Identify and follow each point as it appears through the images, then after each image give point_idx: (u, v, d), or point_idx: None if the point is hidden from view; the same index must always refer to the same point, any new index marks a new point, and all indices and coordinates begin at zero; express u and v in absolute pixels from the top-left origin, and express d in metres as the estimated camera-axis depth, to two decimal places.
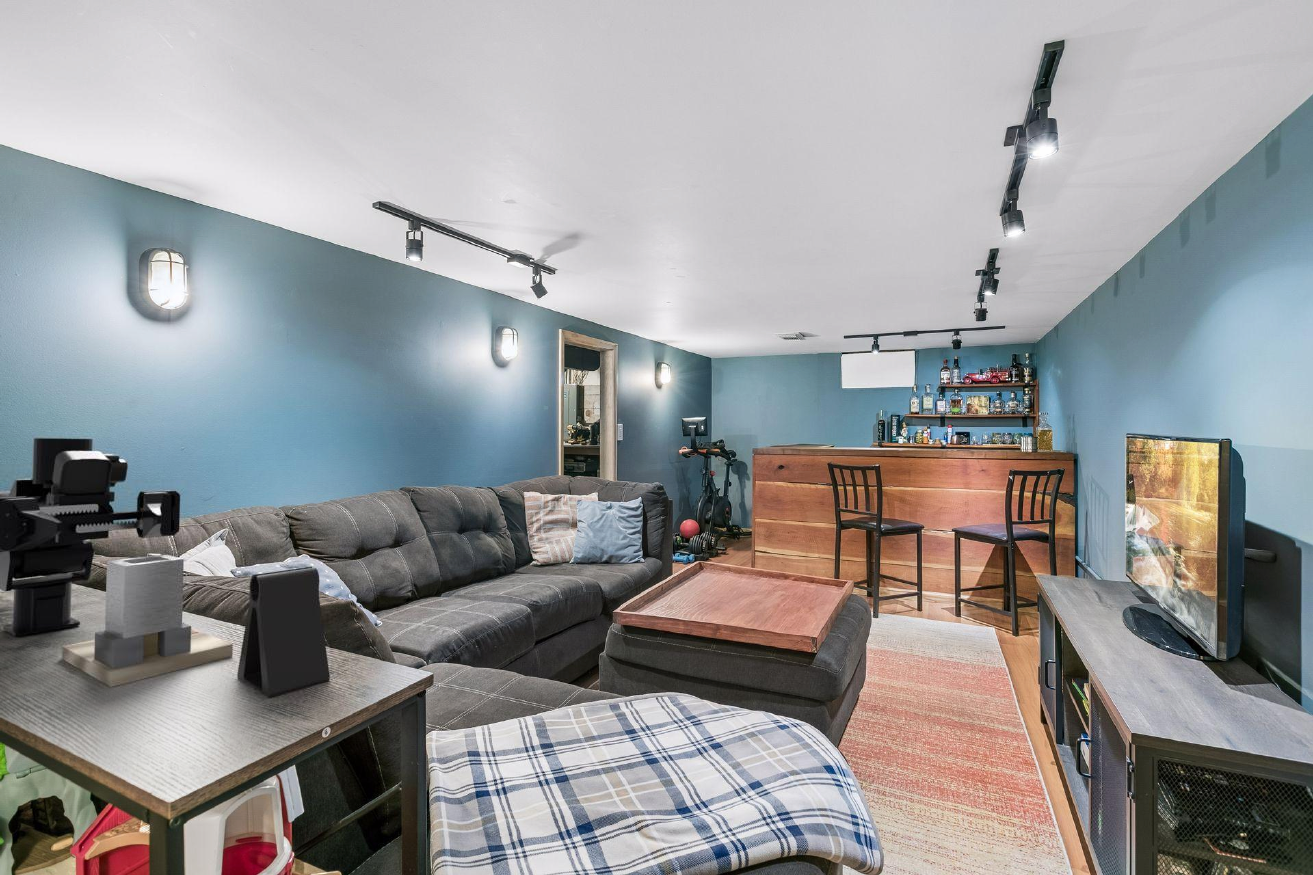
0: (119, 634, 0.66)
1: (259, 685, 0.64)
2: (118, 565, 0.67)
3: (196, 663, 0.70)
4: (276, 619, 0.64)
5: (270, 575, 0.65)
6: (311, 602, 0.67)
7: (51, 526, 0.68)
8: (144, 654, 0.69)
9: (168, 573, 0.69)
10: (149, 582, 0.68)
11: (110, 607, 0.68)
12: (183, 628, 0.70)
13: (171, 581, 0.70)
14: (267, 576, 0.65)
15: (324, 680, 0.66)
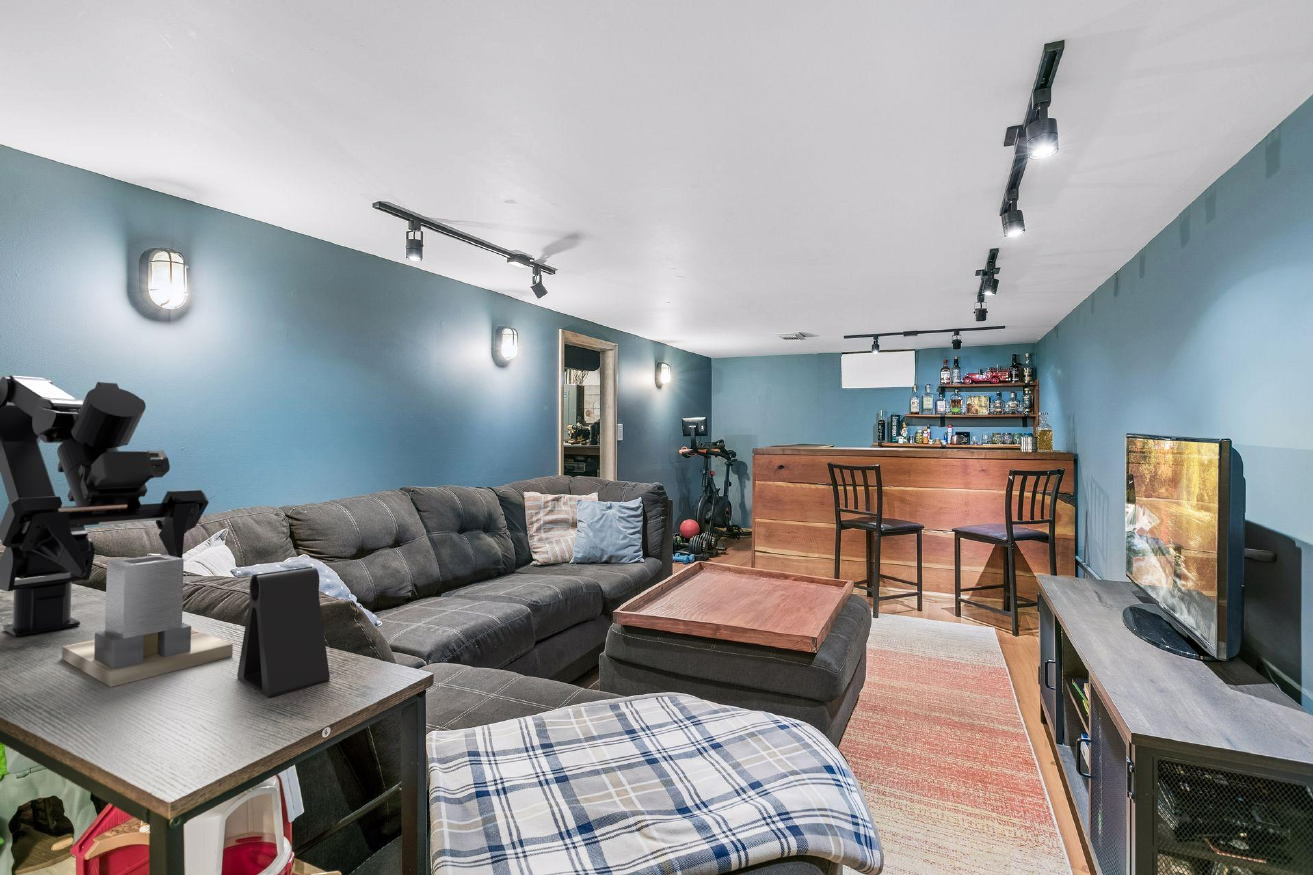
0: (119, 634, 0.66)
1: (259, 685, 0.64)
2: (118, 565, 0.67)
3: (196, 663, 0.70)
4: (276, 619, 0.64)
5: (270, 575, 0.65)
6: (311, 602, 0.67)
7: (76, 568, 0.68)
8: (144, 654, 0.69)
9: (168, 573, 0.69)
10: (149, 582, 0.68)
11: (110, 607, 0.68)
12: (183, 628, 0.70)
13: (171, 581, 0.70)
14: (267, 576, 0.65)
15: (324, 680, 0.66)
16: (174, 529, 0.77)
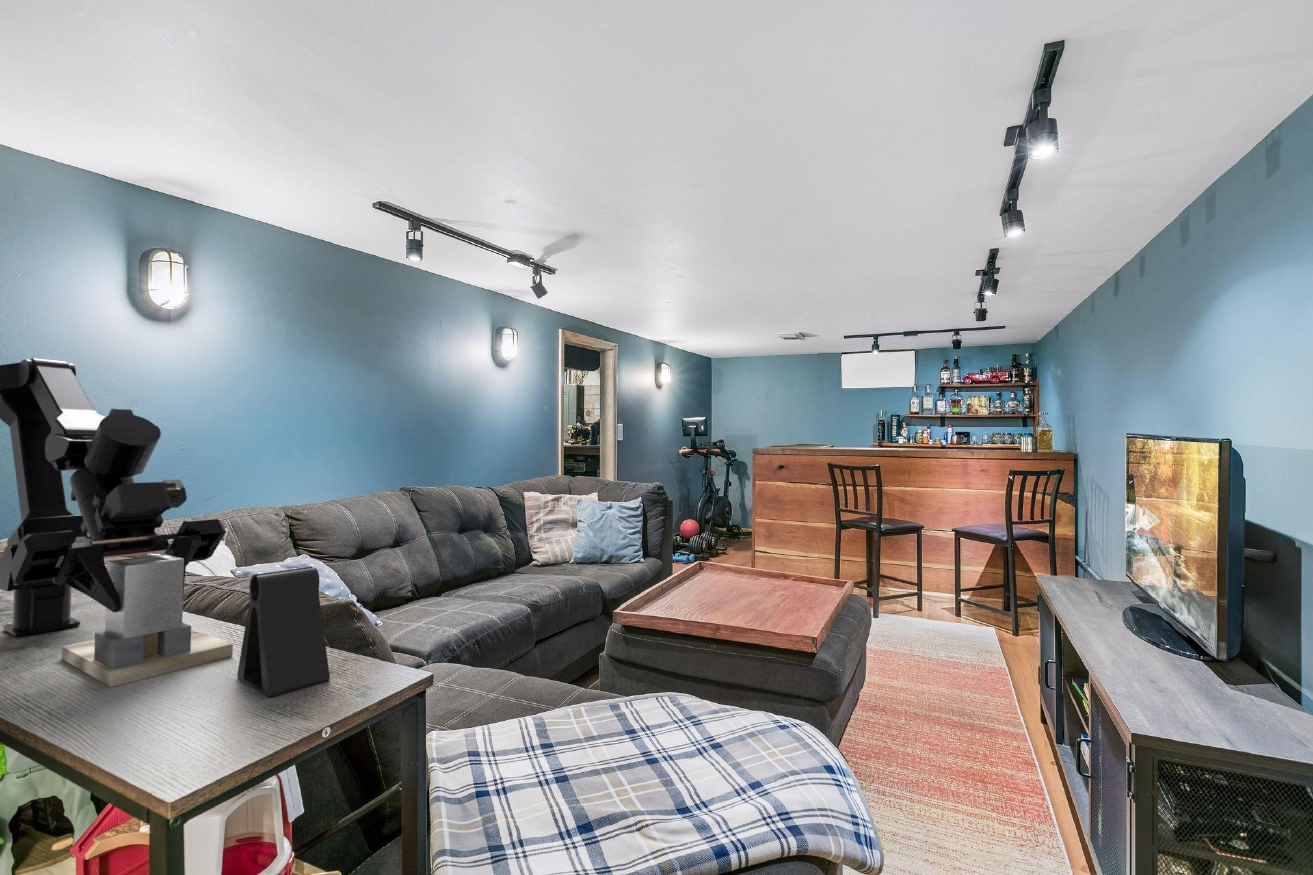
0: (119, 634, 0.66)
1: (259, 685, 0.64)
2: (118, 565, 0.67)
3: (196, 663, 0.70)
4: (276, 619, 0.64)
5: (270, 575, 0.65)
6: (311, 602, 0.67)
7: (110, 604, 0.66)
8: (144, 654, 0.69)
9: (168, 573, 0.69)
10: (150, 582, 0.68)
11: None
12: (183, 628, 0.70)
13: (171, 581, 0.70)
14: (267, 576, 0.65)
15: (324, 680, 0.66)
16: None
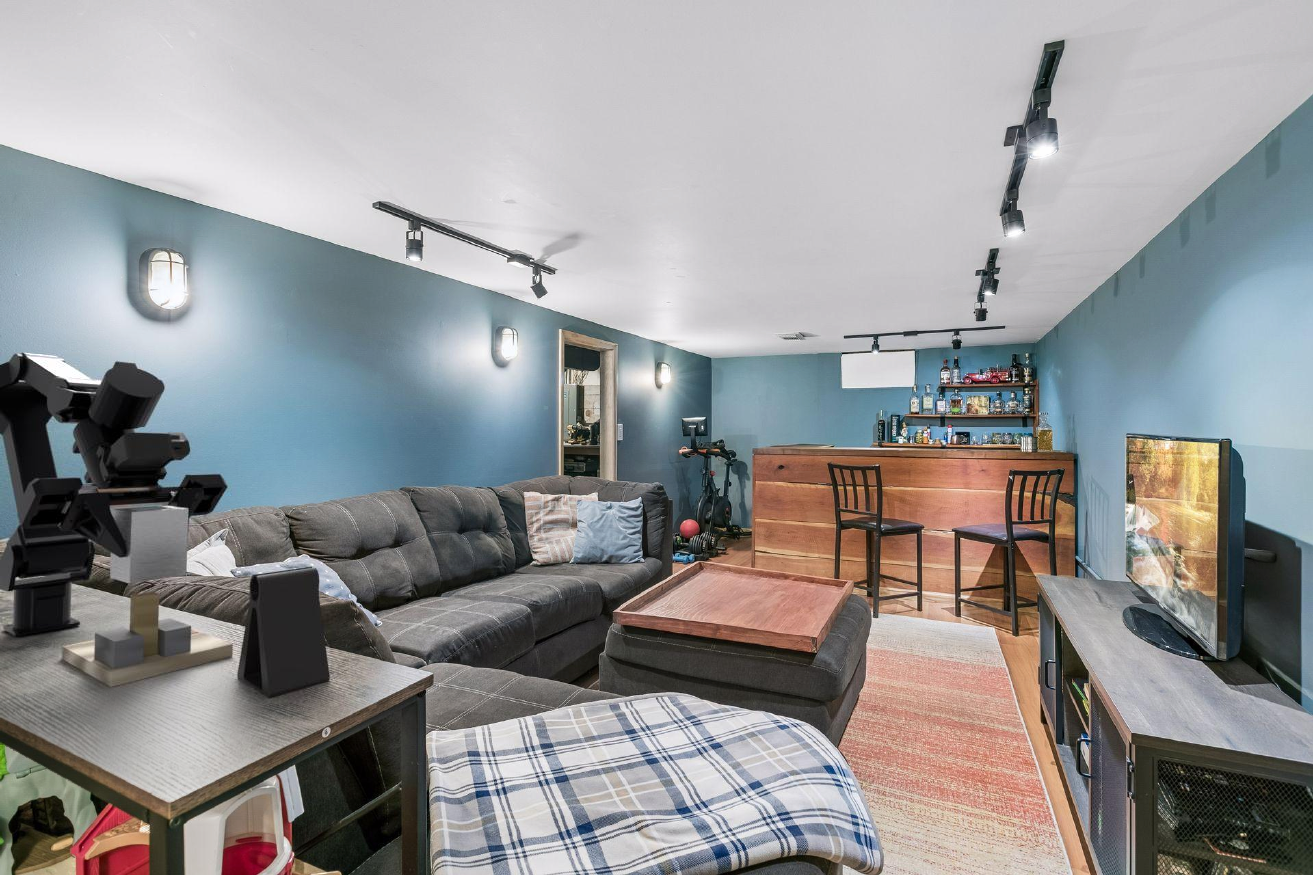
0: (125, 579, 0.68)
1: (259, 685, 0.64)
2: (124, 512, 0.68)
3: (196, 663, 0.70)
4: (276, 619, 0.64)
5: (270, 575, 0.65)
6: (311, 602, 0.67)
7: (116, 549, 0.68)
8: (144, 654, 0.69)
9: (173, 521, 0.71)
10: (155, 529, 0.69)
11: None
12: (183, 628, 0.70)
13: (176, 529, 0.71)
14: (267, 576, 0.65)
15: (324, 680, 0.66)
16: None
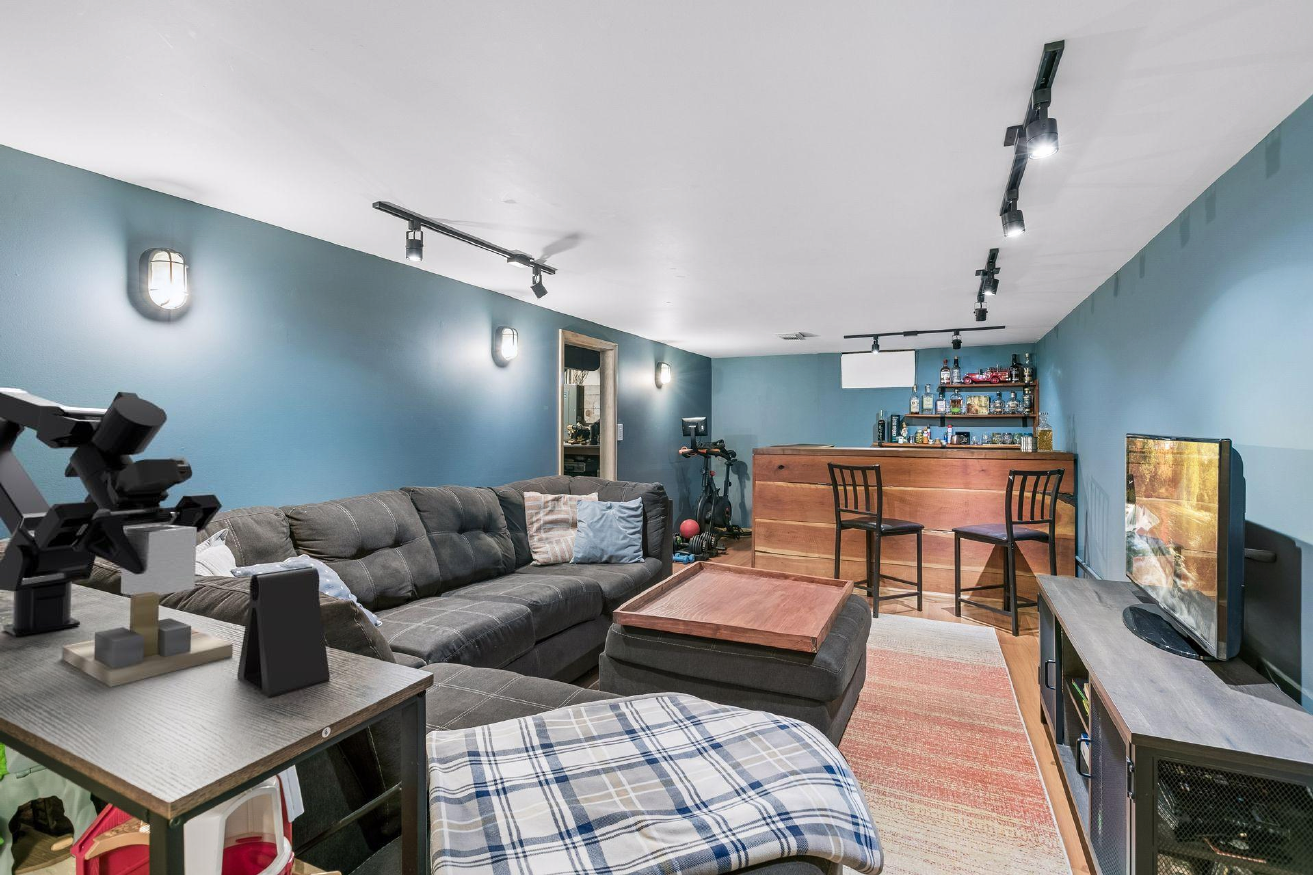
0: None
1: (259, 685, 0.64)
2: (139, 532, 0.75)
3: (196, 663, 0.70)
4: (276, 619, 0.64)
5: (270, 575, 0.65)
6: (311, 602, 0.67)
7: (133, 567, 0.74)
8: (144, 654, 0.69)
9: (184, 540, 0.78)
10: (169, 547, 0.76)
11: (128, 571, 0.75)
12: (183, 628, 0.70)
13: (186, 547, 0.78)
14: (267, 576, 0.65)
15: (324, 680, 0.66)
16: None
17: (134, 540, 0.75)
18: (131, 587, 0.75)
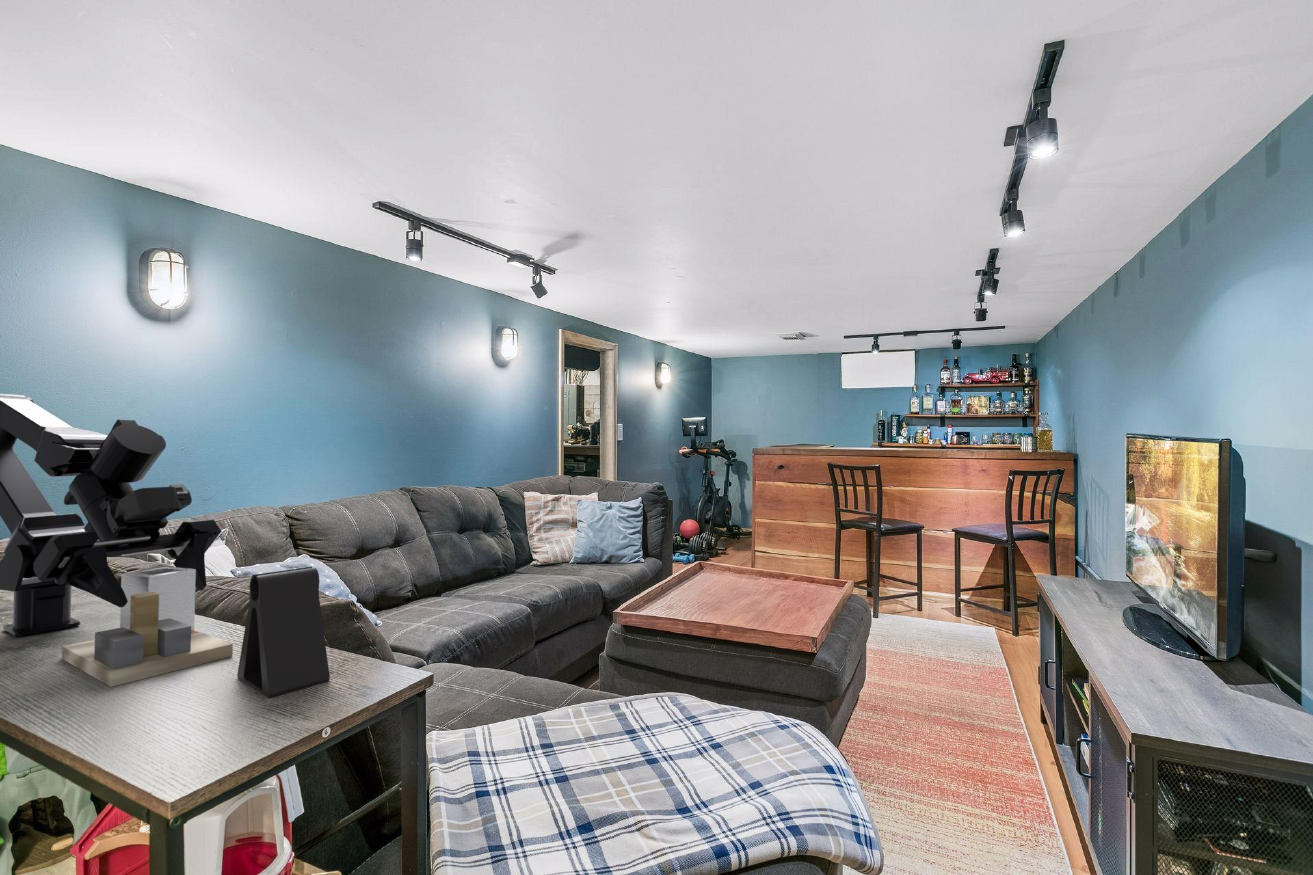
0: None
1: (259, 685, 0.64)
2: (139, 577, 0.74)
3: (196, 663, 0.70)
4: (276, 619, 0.64)
5: (270, 575, 0.65)
6: (311, 602, 0.67)
7: (117, 599, 0.72)
8: (144, 654, 0.69)
9: (183, 582, 0.77)
10: (168, 591, 0.76)
11: (127, 615, 0.75)
12: (183, 628, 0.70)
13: (185, 589, 0.78)
14: (267, 576, 0.65)
15: (324, 680, 0.66)
16: (195, 558, 0.82)
17: (133, 584, 0.75)
18: None
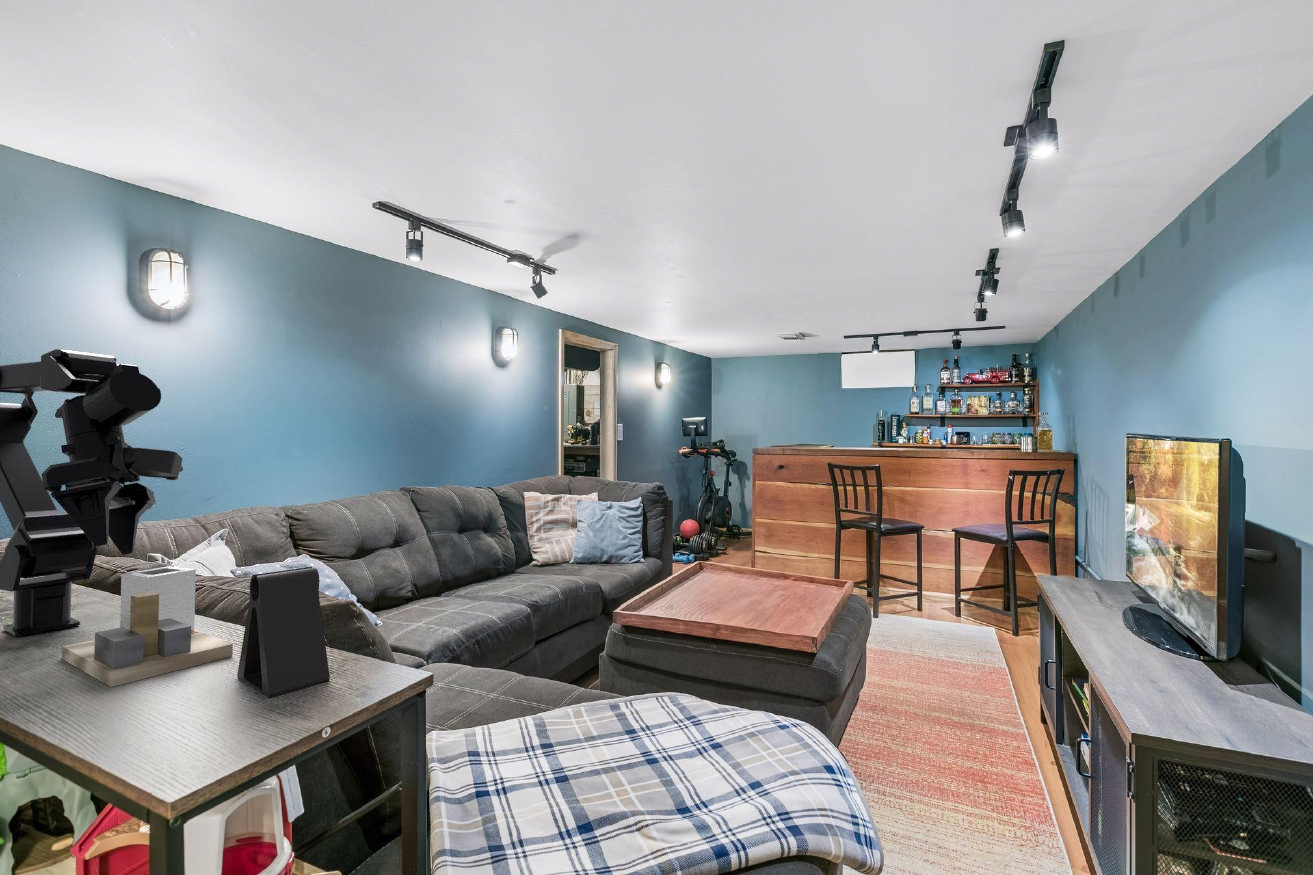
0: None
1: (259, 685, 0.64)
2: (139, 577, 0.74)
3: (196, 663, 0.70)
4: (276, 619, 0.64)
5: (270, 575, 0.65)
6: (311, 602, 0.67)
7: (99, 538, 0.74)
8: (144, 654, 0.69)
9: (183, 582, 0.77)
10: (168, 591, 0.76)
11: (127, 615, 0.75)
12: (183, 628, 0.70)
13: (185, 589, 0.78)
14: (267, 576, 0.65)
15: (324, 680, 0.66)
16: (135, 522, 0.84)
17: (133, 584, 0.75)
18: None
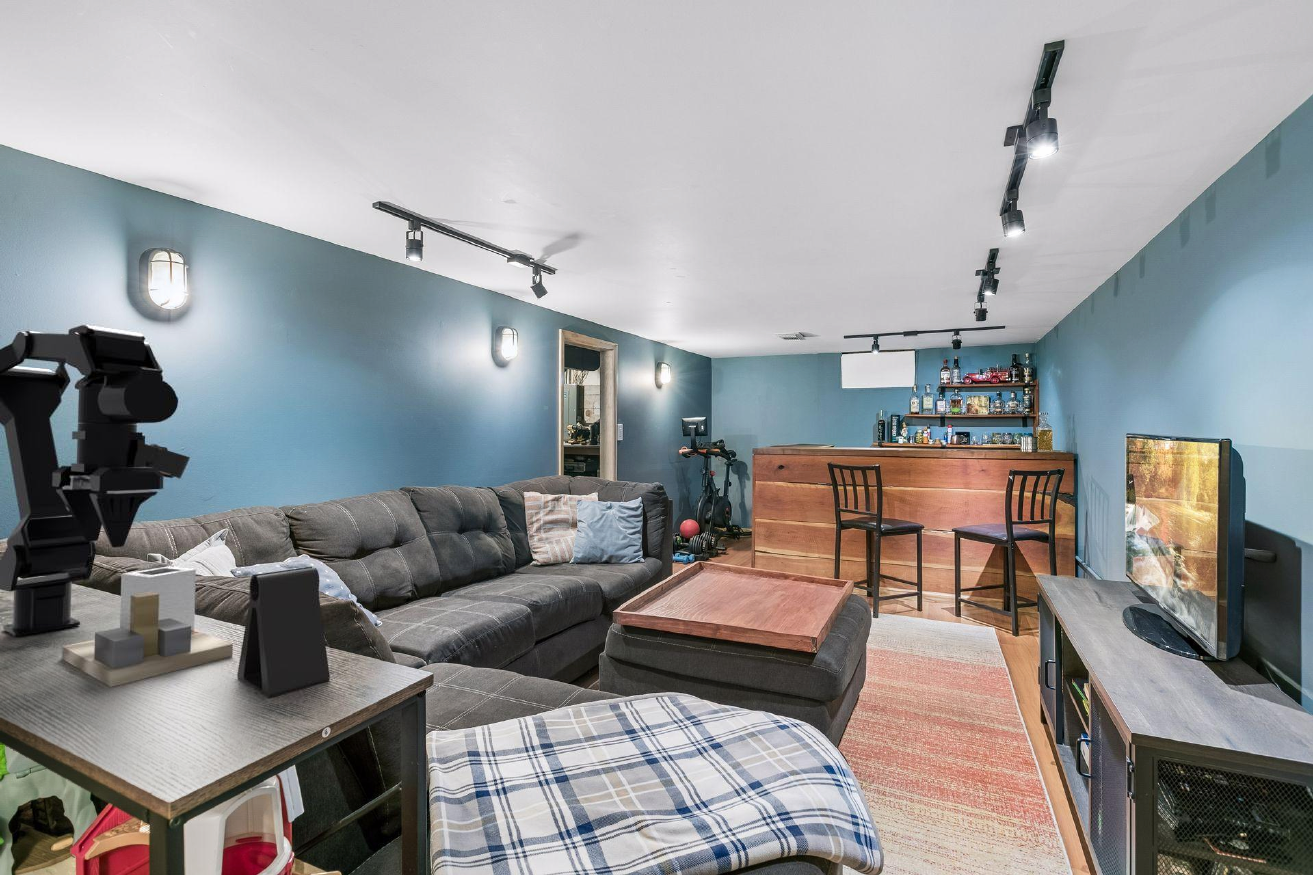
0: None
1: (259, 685, 0.64)
2: (139, 577, 0.74)
3: (196, 663, 0.70)
4: (276, 619, 0.64)
5: (270, 575, 0.65)
6: (311, 602, 0.67)
7: (119, 540, 0.75)
8: (144, 654, 0.69)
9: (183, 582, 0.77)
10: (168, 591, 0.76)
11: (127, 615, 0.75)
12: (183, 628, 0.70)
13: (185, 589, 0.78)
14: (267, 576, 0.65)
15: (324, 680, 0.66)
16: None
17: (133, 584, 0.75)
18: None
